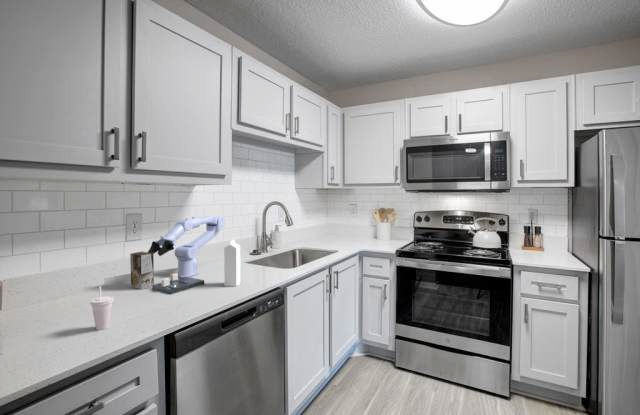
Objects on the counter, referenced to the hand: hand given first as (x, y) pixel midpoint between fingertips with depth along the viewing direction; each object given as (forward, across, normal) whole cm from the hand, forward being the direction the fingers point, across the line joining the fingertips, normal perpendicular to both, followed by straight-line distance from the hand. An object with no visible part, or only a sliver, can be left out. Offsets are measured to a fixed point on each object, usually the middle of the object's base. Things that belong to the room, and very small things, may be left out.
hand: (153, 254), depth 155 cm
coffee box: (+11, -5, +10) cm, 16 cm away
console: (+6, +11, +16) cm, 20 cm away
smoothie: (+44, +27, -7) cm, 52 cm away
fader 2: (+3, +6, +14) cm, 16 cm away
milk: (-5, +30, +26) cm, 41 cm away
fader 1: (+10, +11, +10) cm, 18 cm away
